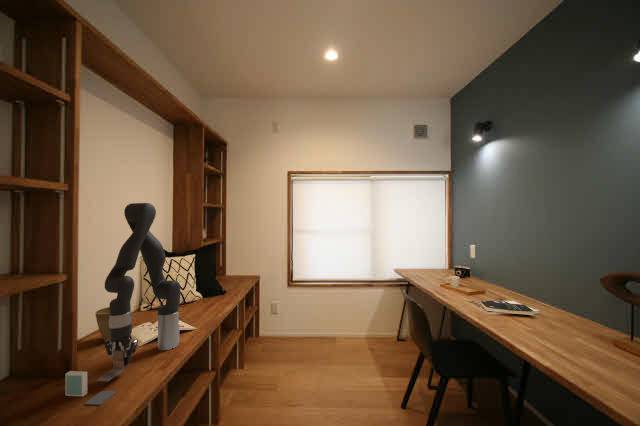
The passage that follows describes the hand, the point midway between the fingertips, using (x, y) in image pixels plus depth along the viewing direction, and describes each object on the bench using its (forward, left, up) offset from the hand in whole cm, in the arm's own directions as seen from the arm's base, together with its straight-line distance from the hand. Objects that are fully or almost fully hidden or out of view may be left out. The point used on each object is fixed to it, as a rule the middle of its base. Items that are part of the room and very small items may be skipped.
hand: (121, 364), depth 112 cm
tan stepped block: (+3, 0, -1) cm, 4 cm away
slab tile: (+13, -7, -5) cm, 15 cm away
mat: (+14, +4, -4) cm, 15 cm away
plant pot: (-32, -34, -5) cm, 47 cm away
